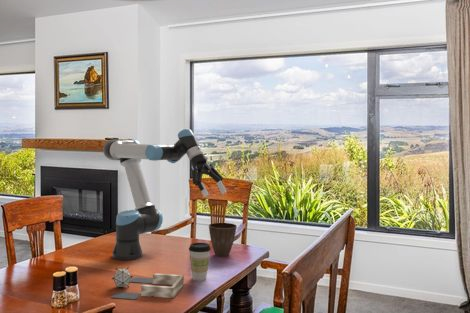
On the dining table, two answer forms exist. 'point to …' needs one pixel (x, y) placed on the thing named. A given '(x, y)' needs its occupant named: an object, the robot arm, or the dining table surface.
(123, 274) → the game die
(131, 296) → the mats
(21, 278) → the dining table surface
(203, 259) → the coffee cup
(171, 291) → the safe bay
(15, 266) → the dining table surface
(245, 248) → the dining table surface
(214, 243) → the plant pot
